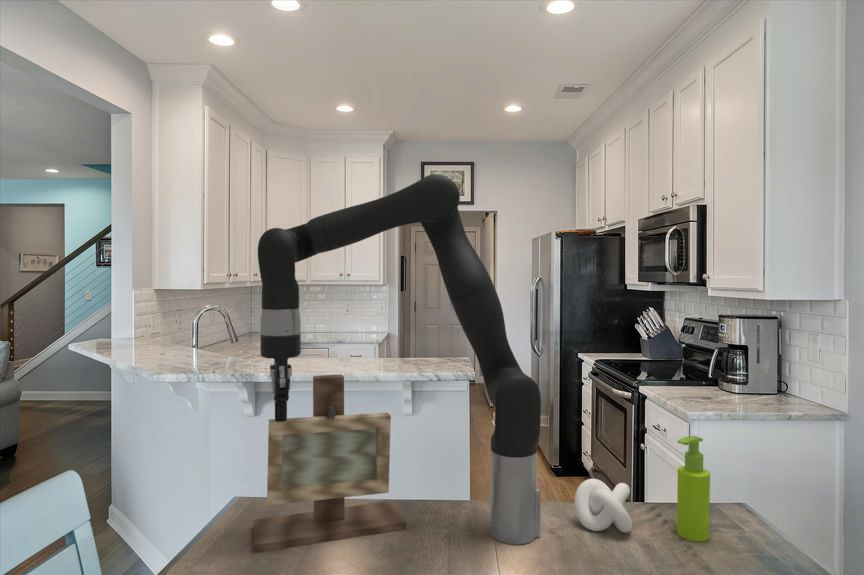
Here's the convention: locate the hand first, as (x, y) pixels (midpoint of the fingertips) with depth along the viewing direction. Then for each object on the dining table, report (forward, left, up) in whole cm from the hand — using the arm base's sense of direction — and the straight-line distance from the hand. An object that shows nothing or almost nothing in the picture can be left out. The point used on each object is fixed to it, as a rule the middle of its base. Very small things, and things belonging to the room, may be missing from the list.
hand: (280, 420), depth 105 cm
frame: (-9, 0, -16) cm, 19 cm away
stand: (-10, -3, -24) cm, 26 cm away
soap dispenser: (-79, +23, -25) cm, 86 cm away
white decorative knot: (-65, +15, -25) cm, 71 cm away
